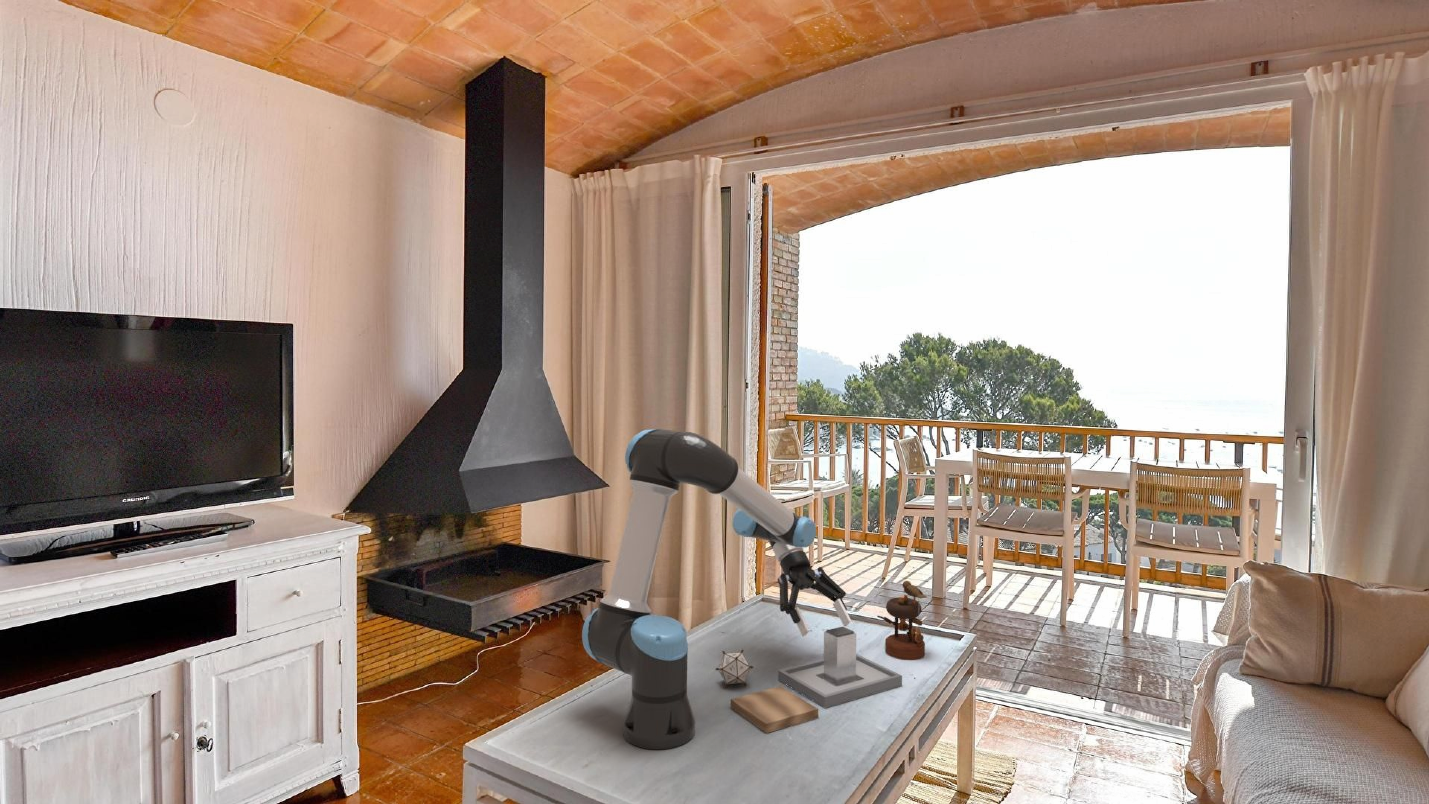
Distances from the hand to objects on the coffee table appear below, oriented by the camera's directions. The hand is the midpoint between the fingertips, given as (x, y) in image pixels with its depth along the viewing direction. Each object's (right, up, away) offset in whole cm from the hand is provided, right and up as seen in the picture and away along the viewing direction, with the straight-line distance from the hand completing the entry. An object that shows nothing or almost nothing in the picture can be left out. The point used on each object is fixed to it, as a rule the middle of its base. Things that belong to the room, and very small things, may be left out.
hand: (827, 628), depth 190 cm
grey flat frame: (+2, -12, -5) cm, 13 cm away
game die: (-24, -12, -6) cm, 27 cm away
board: (-15, -12, -22) cm, 29 cm away
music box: (+23, -11, +15) cm, 30 cm away
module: (+2, -12, -5) cm, 13 cm away
